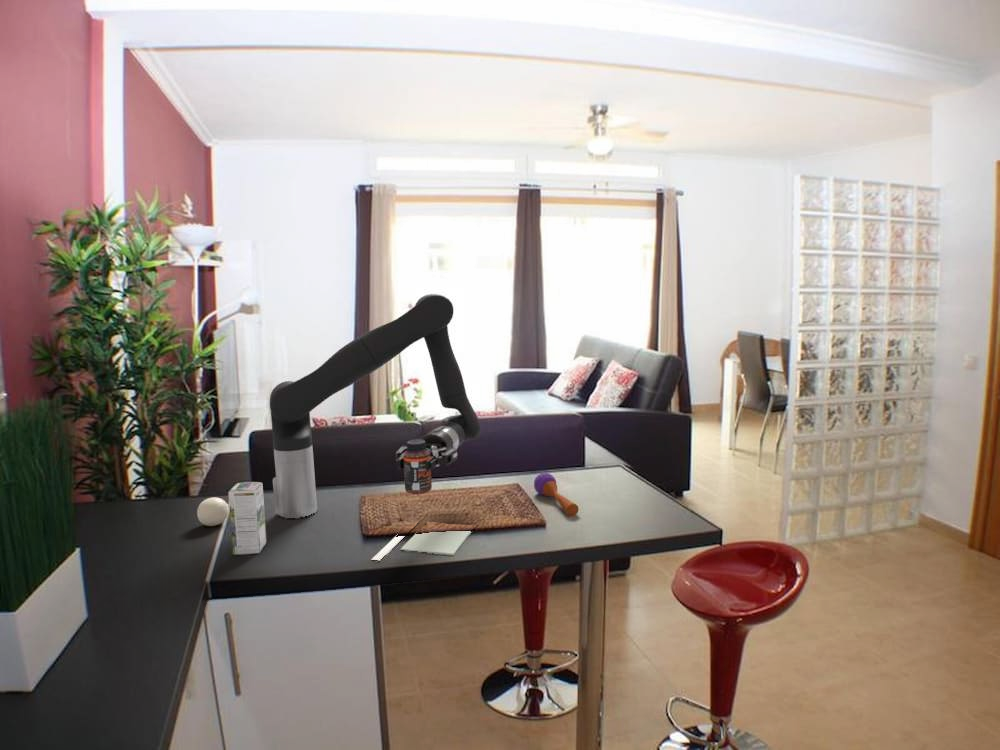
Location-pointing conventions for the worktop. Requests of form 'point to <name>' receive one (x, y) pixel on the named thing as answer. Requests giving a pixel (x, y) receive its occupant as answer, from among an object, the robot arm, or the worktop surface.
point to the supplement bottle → (416, 468)
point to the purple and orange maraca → (553, 492)
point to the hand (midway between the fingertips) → (413, 465)
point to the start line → (388, 548)
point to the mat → (437, 542)
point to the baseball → (212, 511)
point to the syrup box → (247, 518)
